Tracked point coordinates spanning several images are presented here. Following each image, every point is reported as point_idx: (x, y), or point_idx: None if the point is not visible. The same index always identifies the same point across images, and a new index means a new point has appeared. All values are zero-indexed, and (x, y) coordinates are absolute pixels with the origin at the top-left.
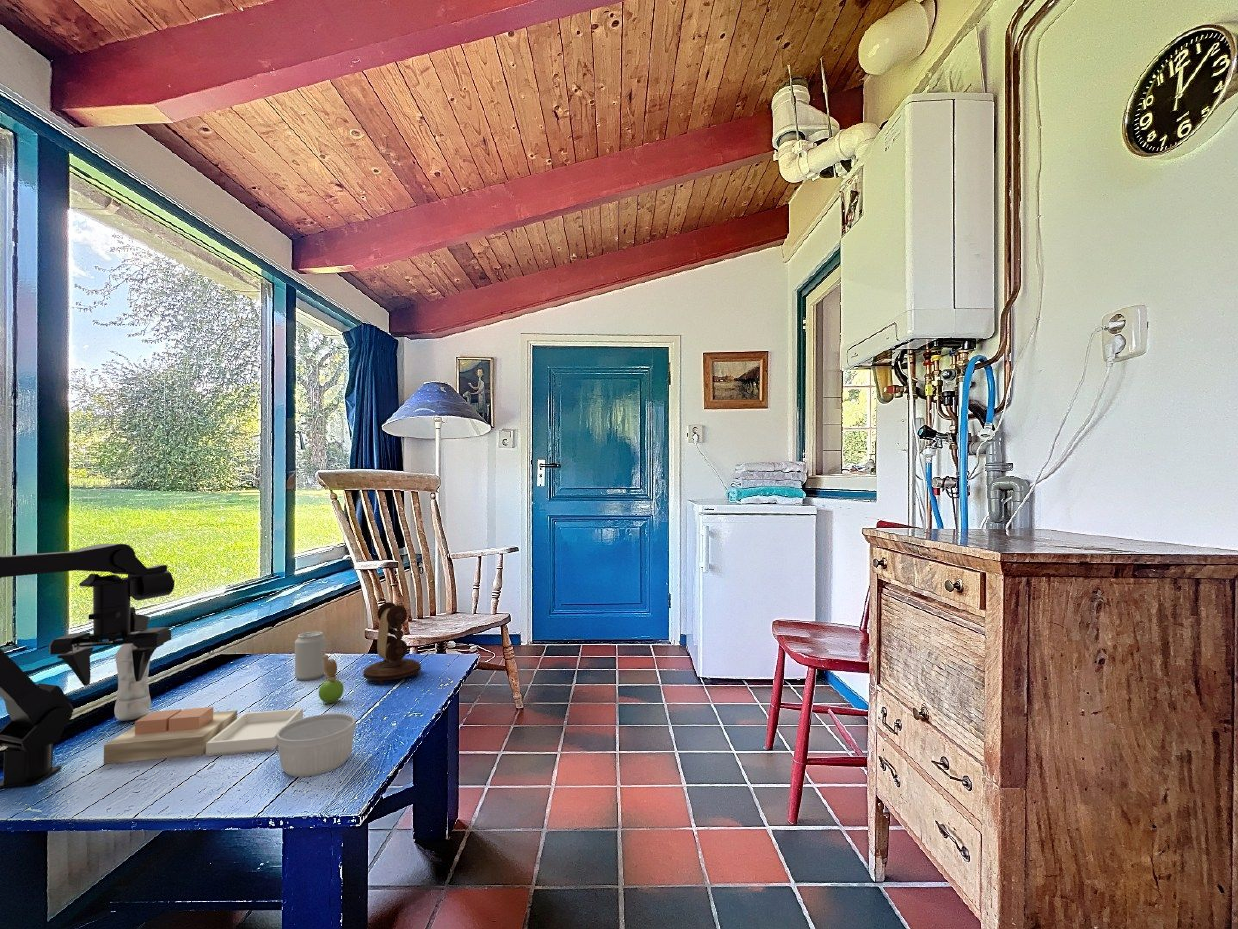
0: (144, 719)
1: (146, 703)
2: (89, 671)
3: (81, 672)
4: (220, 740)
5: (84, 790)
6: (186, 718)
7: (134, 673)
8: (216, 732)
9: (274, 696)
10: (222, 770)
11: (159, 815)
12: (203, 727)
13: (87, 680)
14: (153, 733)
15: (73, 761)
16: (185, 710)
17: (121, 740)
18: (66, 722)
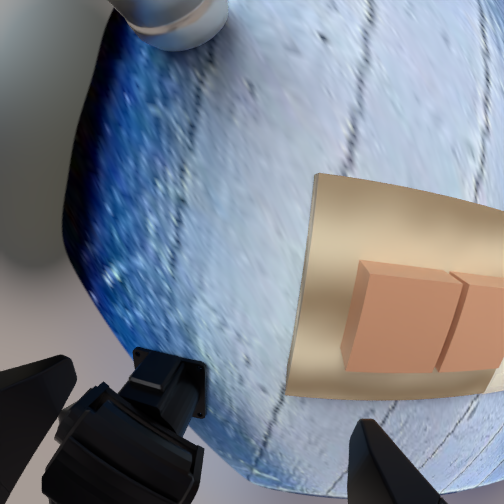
0: (370, 361)
1: (219, 5)
2: (19, 394)
3: (33, 446)
4: None
5: (307, 452)
6: (474, 368)
7: (350, 501)
8: None
9: (497, 10)
10: (480, 423)
11: None
12: None
13: (59, 388)
14: None
15: (201, 323)
16: (474, 303)
17: (319, 380)
18: (200, 474)
